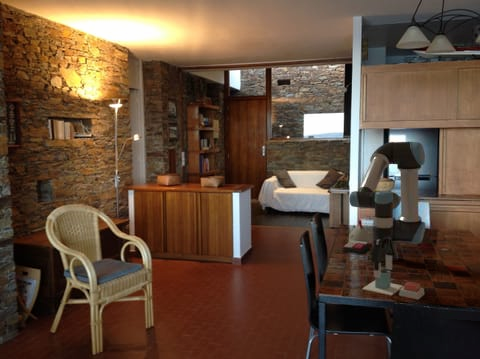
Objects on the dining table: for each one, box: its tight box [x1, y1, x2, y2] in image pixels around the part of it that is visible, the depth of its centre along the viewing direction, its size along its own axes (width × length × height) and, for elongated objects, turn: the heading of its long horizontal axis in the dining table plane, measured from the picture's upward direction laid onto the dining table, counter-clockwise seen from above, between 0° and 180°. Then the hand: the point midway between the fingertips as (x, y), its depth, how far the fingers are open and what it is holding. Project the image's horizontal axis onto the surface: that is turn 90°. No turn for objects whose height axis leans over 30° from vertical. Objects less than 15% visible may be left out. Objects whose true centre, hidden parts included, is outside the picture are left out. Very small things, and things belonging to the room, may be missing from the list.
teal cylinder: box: [374, 266, 392, 290], centre depth 197 cm, size 5×5×8 cm
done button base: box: [398, 286, 425, 301], centre depth 188 cm, size 8×8×3 cm
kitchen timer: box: [348, 219, 373, 247], centre depth 277 cm, size 14×14×15 cm
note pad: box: [362, 280, 404, 297], centre depth 197 cm, size 14×13×1 cm
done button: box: [403, 281, 421, 291], centre depth 188 cm, size 5×5×2 cm
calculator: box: [342, 241, 370, 254], centre depth 264 cm, size 11×4×15 cm
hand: (383, 273), depth 197 cm, fingers open, 13 cm apart
